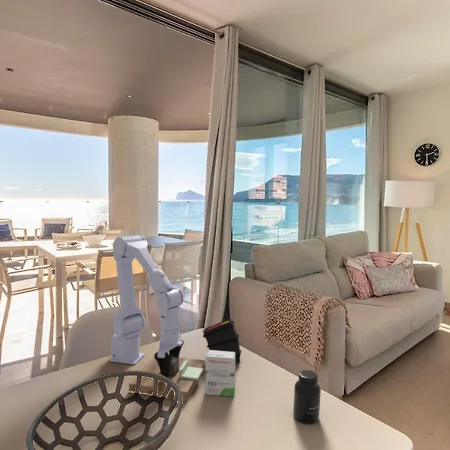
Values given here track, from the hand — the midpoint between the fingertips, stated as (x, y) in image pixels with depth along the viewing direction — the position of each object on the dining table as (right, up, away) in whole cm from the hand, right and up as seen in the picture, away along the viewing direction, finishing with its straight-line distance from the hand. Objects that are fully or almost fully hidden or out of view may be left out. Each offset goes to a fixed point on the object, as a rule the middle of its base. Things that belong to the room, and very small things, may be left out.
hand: (169, 369), depth 110 cm
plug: (0, -4, 0) cm, 4 cm away
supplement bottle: (+39, -6, -16) cm, 43 cm away
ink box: (+16, -5, -5) cm, 18 cm away
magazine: (+16, -3, +14) cm, 22 cm away
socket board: (0, -4, 0) cm, 4 cm away
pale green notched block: (+7, -1, -1) cm, 7 cm away
